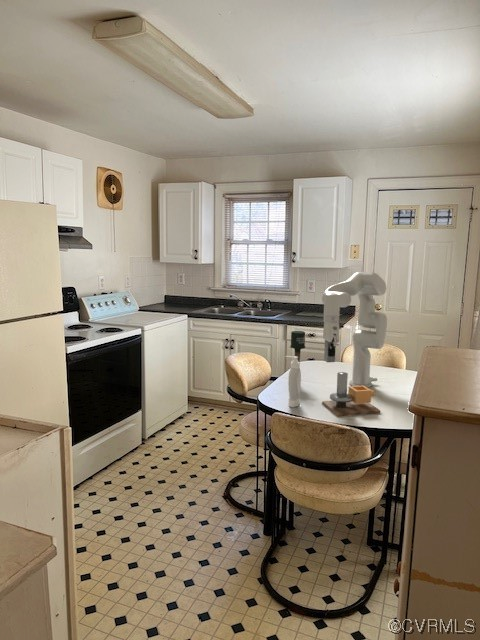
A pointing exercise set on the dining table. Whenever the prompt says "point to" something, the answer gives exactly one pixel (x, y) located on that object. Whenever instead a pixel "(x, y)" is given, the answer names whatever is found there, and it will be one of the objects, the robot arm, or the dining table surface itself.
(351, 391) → the orange open box
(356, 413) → the base plate
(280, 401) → the dining table surface
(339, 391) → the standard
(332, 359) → the dark gray block
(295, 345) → the potato masher grenade
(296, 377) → the soap bottle
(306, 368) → the dining table surface
